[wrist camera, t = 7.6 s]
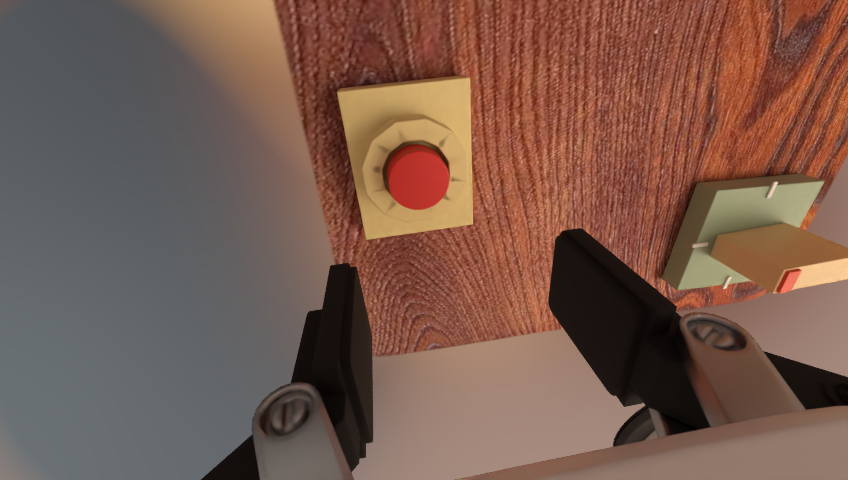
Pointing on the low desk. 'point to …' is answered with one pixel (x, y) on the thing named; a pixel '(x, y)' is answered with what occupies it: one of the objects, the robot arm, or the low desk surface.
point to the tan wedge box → (782, 257)
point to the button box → (401, 126)
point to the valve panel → (733, 222)
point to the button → (417, 177)
